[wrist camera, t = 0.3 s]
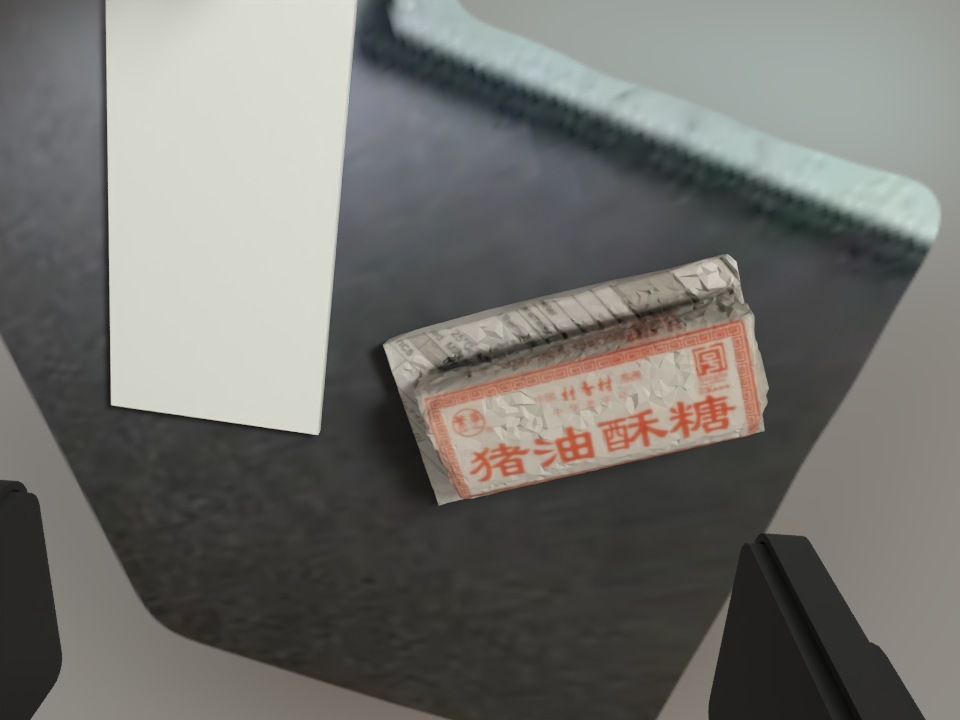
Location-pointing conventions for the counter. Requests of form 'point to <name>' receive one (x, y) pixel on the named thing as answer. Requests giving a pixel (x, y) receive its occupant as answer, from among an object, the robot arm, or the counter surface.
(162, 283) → the mat
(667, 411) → the packaged product
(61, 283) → the counter surface
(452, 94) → the counter surface
